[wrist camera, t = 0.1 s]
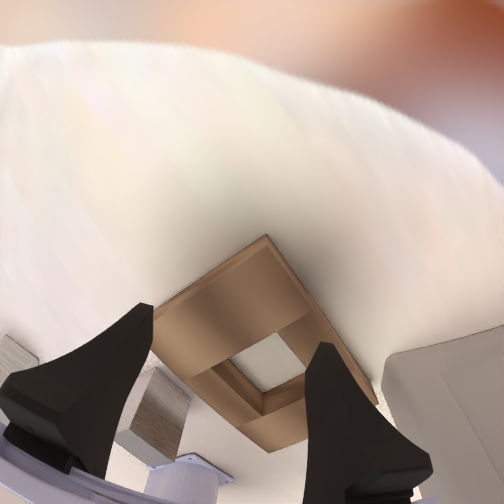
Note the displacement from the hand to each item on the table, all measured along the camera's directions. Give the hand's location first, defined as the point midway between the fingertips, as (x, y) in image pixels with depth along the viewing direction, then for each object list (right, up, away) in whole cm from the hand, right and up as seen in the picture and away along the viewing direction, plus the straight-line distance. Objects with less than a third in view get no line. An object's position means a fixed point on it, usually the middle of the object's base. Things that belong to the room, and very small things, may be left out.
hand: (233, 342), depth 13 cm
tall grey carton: (+23, -12, +14) cm, 30 cm away
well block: (+2, -5, +13) cm, 14 cm away
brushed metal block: (-8, -10, +15) cm, 19 cm away
